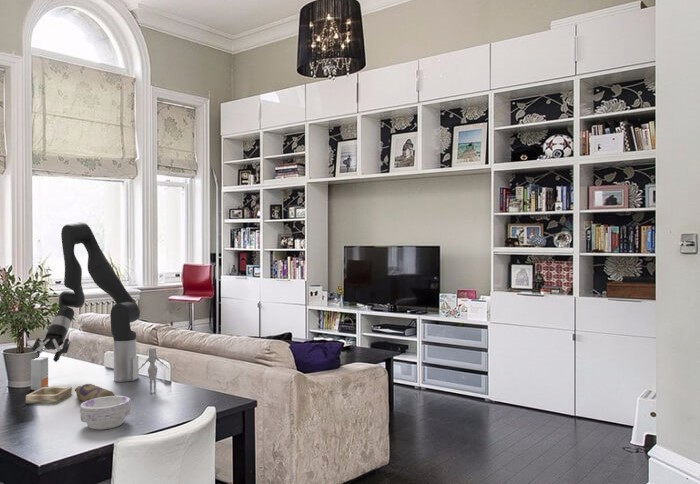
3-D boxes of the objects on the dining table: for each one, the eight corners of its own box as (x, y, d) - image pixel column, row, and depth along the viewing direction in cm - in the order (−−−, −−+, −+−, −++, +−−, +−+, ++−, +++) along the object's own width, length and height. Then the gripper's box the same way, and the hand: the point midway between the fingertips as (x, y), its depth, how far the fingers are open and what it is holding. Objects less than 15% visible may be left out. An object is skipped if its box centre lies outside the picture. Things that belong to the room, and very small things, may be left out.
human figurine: (167, 390, 234) (167, 345, 233) (169, 392, 230) (169, 347, 230) (136, 394, 228) (135, 348, 228) (137, 397, 225) (136, 350, 225)
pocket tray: (71, 394, 228) (71, 387, 228) (56, 403, 217) (56, 395, 217) (42, 395, 229) (42, 387, 229) (25, 403, 217) (25, 395, 217)
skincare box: (40, 389, 237) (40, 360, 237) (30, 389, 237) (30, 360, 237) (48, 385, 243) (48, 356, 243) (38, 385, 243) (38, 356, 243)
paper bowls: (80, 422, 195) (80, 398, 195) (129, 416, 201) (129, 392, 201) (79, 436, 181) (79, 410, 181) (132, 429, 187) (132, 404, 187)
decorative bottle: (117, 407, 212) (116, 389, 212) (95, 412, 206) (95, 393, 206) (87, 394, 230) (87, 377, 230) (67, 398, 224) (67, 381, 224)
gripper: (39, 323, 253) (24, 355, 242) (72, 323, 253) (58, 355, 241) (45, 333, 258) (31, 365, 247) (78, 333, 258) (65, 365, 247)
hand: (44, 360), depth 244 cm, fingers open, 8 cm apart
